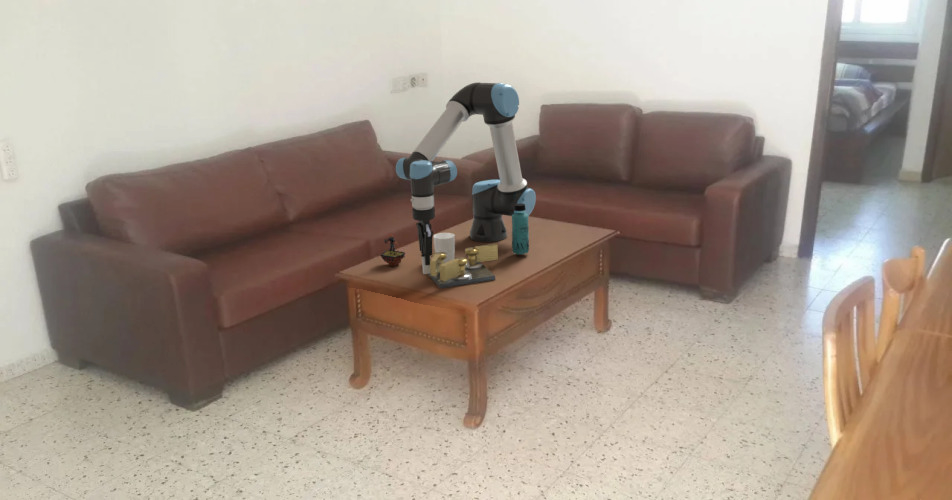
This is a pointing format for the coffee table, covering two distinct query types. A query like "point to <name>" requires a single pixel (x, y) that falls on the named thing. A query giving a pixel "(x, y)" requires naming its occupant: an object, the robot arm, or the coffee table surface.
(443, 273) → the foot screw
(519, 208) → the beverage bottle
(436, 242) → the white cup
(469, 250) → the foot screw
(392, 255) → the figurine
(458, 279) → the plate
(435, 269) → the foot screw
